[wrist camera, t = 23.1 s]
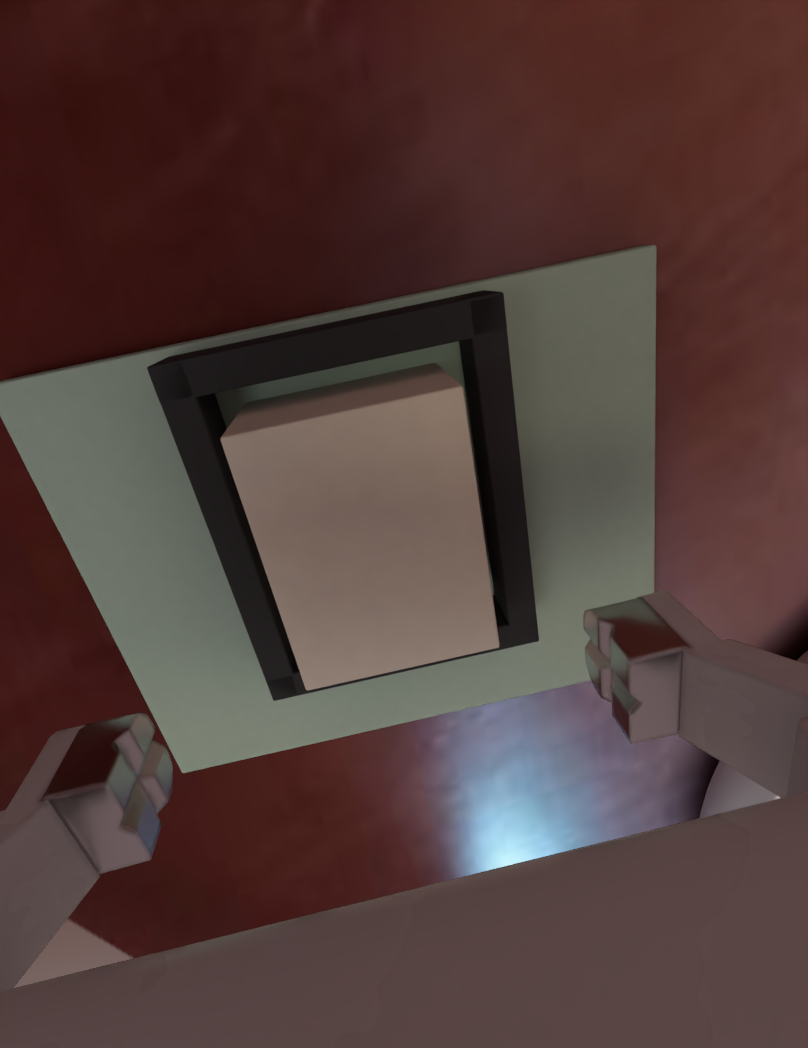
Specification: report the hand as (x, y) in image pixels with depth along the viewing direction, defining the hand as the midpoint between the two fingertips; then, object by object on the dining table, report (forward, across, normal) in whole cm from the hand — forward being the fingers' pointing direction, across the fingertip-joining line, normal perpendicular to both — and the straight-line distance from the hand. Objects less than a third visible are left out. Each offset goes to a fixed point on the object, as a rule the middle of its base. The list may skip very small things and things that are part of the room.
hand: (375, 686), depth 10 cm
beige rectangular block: (+9, 0, 0) cm, 9 cm away
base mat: (+10, 0, +2) cm, 10 cm away
